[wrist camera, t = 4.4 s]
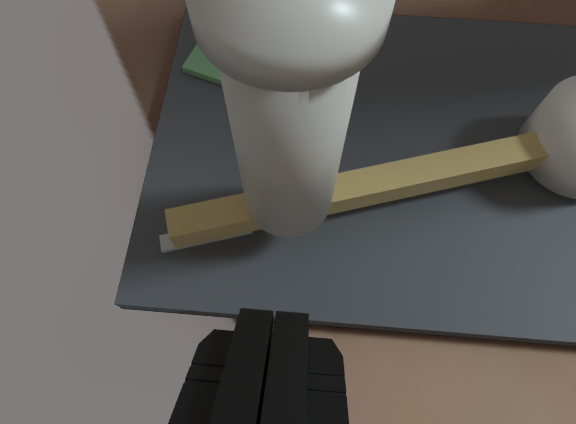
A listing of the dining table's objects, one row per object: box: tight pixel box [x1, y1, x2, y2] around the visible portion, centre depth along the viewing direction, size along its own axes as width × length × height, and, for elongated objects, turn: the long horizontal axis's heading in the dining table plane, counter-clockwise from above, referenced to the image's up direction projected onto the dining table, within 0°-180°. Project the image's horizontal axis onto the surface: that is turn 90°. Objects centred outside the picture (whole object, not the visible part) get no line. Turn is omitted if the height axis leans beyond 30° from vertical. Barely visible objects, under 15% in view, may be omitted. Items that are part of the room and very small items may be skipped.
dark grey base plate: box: [115, 6, 576, 347], centre depth 17 cm, size 14×18×1 cm
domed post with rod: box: [165, 0, 576, 248], centre depth 12 cm, size 17×4×10 cm, turn 103°
